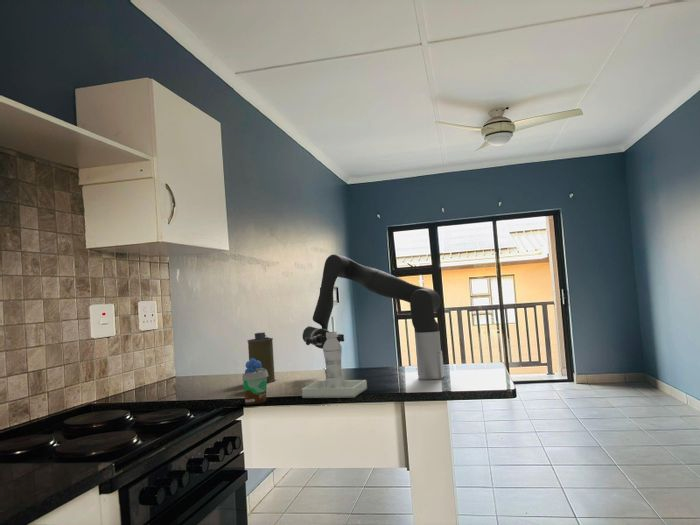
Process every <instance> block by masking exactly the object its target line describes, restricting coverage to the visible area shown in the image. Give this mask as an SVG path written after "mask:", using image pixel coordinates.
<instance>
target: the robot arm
mask: <svg viewBox="0 0 700 525" xmlns="http://www.w3.org/2000/svg"><path fill="white" fill-rule="evenodd" d="M337 278H341V279H347V280H351V281H353V282H356V283H357V284H358V283H359V285H361V286H362V287H363V288H364V289H366V290H368V291H370V292H372V293H374V294H377V295H378V296H382V297H385V298H390V299H395V300H400V301H403V302H406V303H409V307H410V308H409V309H410V317H411V323H412V326H413V328H414V339H415V352H416V365H417V366H416V367H417V375H418V376H417V377H418V379H419V380H439V379H440V380H441V379H443V378H444V377H445V372H444V371H445V370H444V359H443V357H444V356H443V351H442V347H441V333H440V324H439V323H438V322H437V320H436V318H435V311H437V310H438V309H439V308H440V307H441V302H442V301H441V296H440V294H439V293H438V292H437V291H436V290H434V289H432V288H428V287H424V286H420V285H416V284H413V283H410V282H408V281H406V280H404V279H402V278H399V277H397V276H395V275H393V274H390V273H388V272H386V271H383V270H380V269H377V268H373V267H370V266H365V265H363V264H360V263H358V262H356V261H354V260H353V259H351V258H349V257H347V256H345V255H341V254H335V253H333V254H330V255H329V256H328V257H326V260H325V262H324V265H323V271H322V277H321V285H320V289H319V293H318V294H319V295H318V299H317V303H316V306H315V308H314V312H313V315H312V320H313V322H315V323H316V324H318V325H320V326H321V328H319V327H315V326H311V325H310V326H307V327H306V328H304V329H303V332H302V340H303V341H304V343H305V345H306V346H309V345H313V346H314V347H316V348H318V349H322V350H323V346H324V344H325V342H326V340H327V338H326V333H327V332H330V331H329V330H328V328H329V321H330V318H331V315H332V312H333V309H334V301H335V300H334V289H335V283H336V281H337ZM344 335H345V334H341V333H337V337H336V338H337V340H338V341H339V343H341V342H342V343H343V342H345V336H344Z"/></svg>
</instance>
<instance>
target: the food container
mask: <svg viewBox="0 0 700 525" xmlns="http://www.w3.org/2000/svg"><path fill="white" fill-rule="evenodd" d="M268 376H269V375H268V372H267V370H266V369H256V371H255V372H251V373H249V374H245V373H242V377H241V378H242V382H243V383H242V384H243V392H244V404H245V406H247V405H256V404H261V403H265V402H267V384H268V383H267V377H268Z"/></svg>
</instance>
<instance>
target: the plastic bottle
mask: <svg viewBox="0 0 700 525" xmlns="http://www.w3.org/2000/svg"><path fill="white" fill-rule="evenodd" d="M337 335H338V332H337V331H329V332H327V333H326V338H327V340H326V342H325V344H324V346H323V349H322V351H323V356H324V364H325V380H324V381H325V386H326V388H344V385H345V382H344V380H345V378H344V374H343V369H342V368H343V366H342V353H343V351H342V350H343V347H342V345H341V342H339V341H338V340H337V338H336V337H337Z"/></svg>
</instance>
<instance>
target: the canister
mask: <svg viewBox="0 0 700 525" xmlns="http://www.w3.org/2000/svg"><path fill="white" fill-rule="evenodd" d="M273 340H274V338H273V337H269V336H267V335H266V333H265V332H256V333H254V338H252V339H247V345H248V361H250V359H251V358H254V359H255V360H256V361H257V360H258V361H260V362H261V364H262V366H261V367H262V368H264V369H266V370H267V372H268V375H269V376H268V377H267V384H271V383H274V382H275V381H276V378H275V362H274V360H275V359H274V347H273V346H274V343H273Z"/></svg>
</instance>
